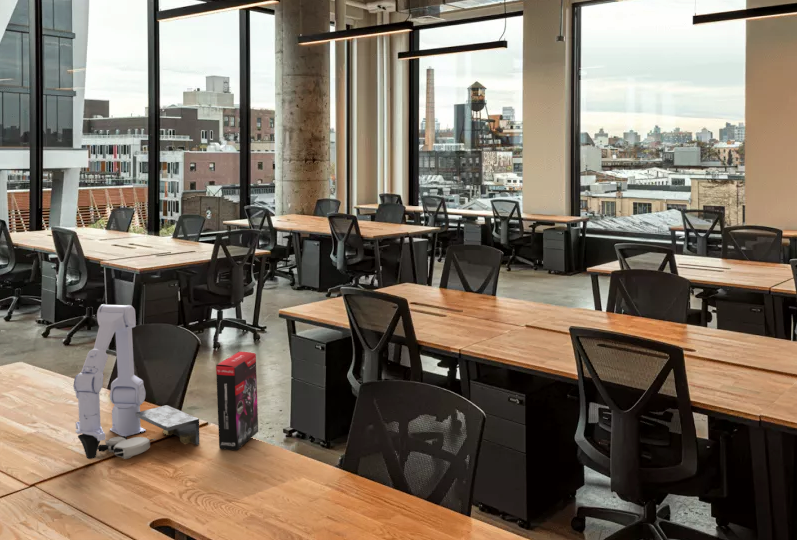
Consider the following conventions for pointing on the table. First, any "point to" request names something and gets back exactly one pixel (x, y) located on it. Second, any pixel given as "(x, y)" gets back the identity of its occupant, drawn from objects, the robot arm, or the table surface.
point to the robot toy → (126, 446)
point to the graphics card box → (237, 400)
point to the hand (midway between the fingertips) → (91, 457)
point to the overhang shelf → (173, 423)
